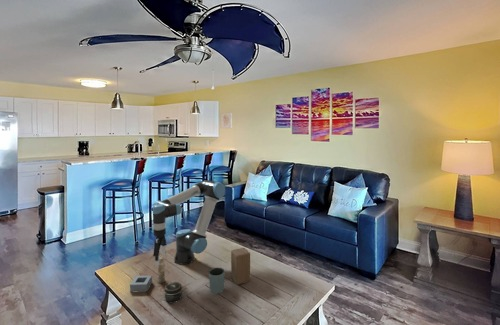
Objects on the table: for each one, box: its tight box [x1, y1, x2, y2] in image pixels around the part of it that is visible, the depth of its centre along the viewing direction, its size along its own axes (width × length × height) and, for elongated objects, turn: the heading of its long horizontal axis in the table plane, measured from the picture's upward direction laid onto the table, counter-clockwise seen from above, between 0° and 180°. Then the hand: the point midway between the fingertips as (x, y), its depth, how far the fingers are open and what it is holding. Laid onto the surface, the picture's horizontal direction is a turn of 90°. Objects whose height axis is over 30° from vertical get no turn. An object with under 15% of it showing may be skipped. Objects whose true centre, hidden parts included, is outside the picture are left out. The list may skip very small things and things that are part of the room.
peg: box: [157, 256, 166, 284], centre depth 176 cm, size 4×4×16 cm
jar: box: [163, 281, 183, 303], centre depth 159 cm, size 10×10×8 cm
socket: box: [129, 275, 153, 293], centre depth 170 cm, size 10×10×5 cm
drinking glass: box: [208, 267, 226, 294], centre depth 168 cm, size 10×10×12 cm
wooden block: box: [230, 247, 251, 285], centre depth 178 cm, size 10×10×20 cm
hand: (160, 260), depth 174 cm, fingers open, 13 cm apart
